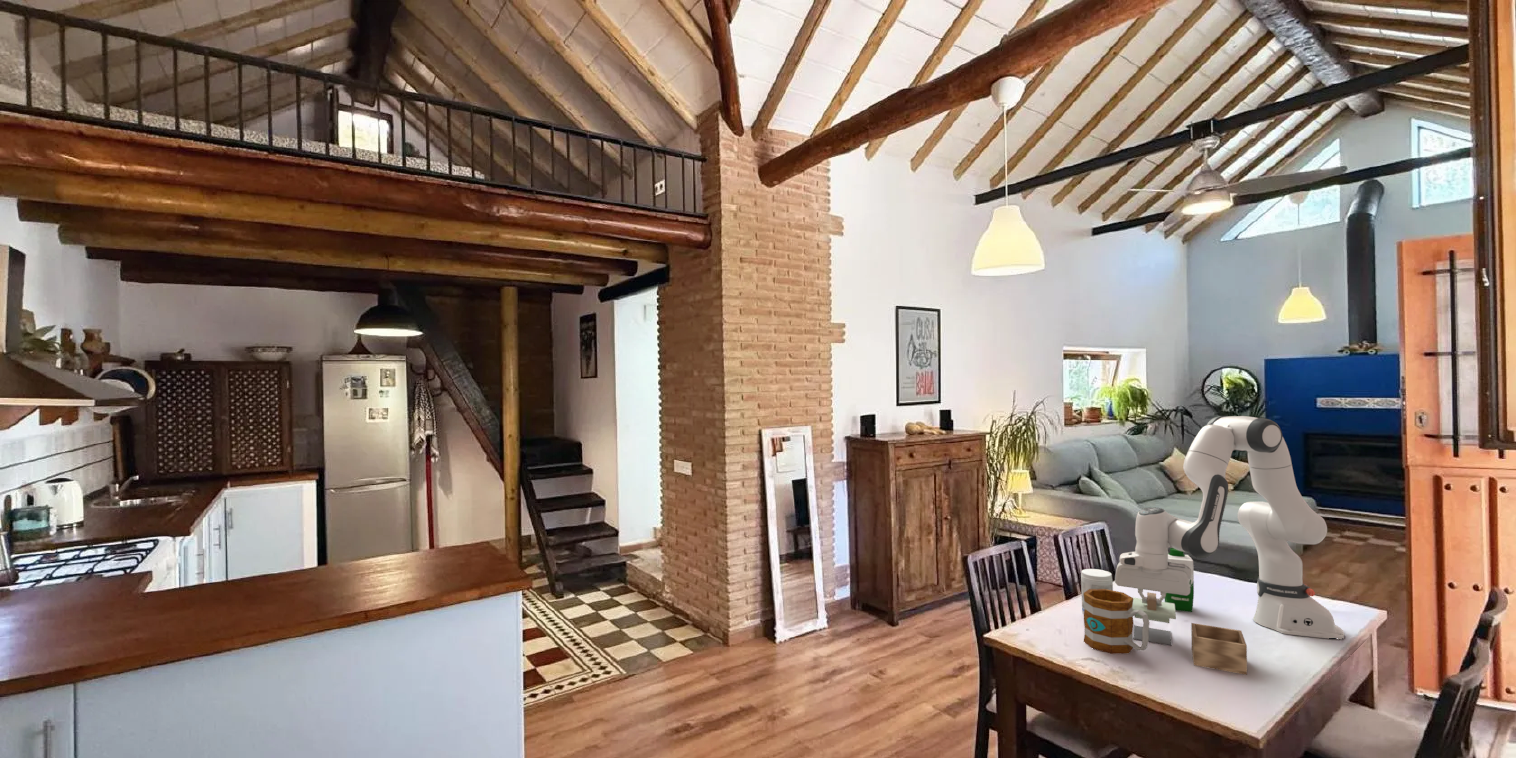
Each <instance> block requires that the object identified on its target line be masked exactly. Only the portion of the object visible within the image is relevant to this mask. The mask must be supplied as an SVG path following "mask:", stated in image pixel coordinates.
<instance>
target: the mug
mask: <svg viewBox="0 0 1516 758" xmlns="http://www.w3.org/2000/svg"><path fill="white" fill-rule="evenodd" d="M1083 594H1084V604H1085V609H1084V614H1083V625H1084V636H1083V643H1084V642H1085V644H1086V645H1087V646H1088V647H1089V648H1091V649H1092V648H1093V649H1092V650H1095V649H1096V650H1095V651H1100V652H1103V653H1107V654H1111V655H1115V654H1116V655H1118V654H1121V655H1123V654H1124V655H1125V654H1128V655H1129V654H1130V653H1132V651H1133V649H1134V650H1136V651H1145V650H1146V649H1147V648H1148V646H1149V642H1148V638H1149V628H1150V620H1149V619H1148V616H1147V614H1146V613H1145V612H1143V611H1142V610H1134V611H1132V605H1133V598H1134V597H1133V598H1132V596H1130V595H1128V594H1127V593H1125V592H1123V591H1117V590H1114V589H1113V590H1108V589H1088V590H1087V591H1086V592H1084V593H1083ZM1136 614H1140V615H1141V616H1142V618H1143V619H1142V623H1143V624H1142V627H1143V630H1142V641H1141V644H1140V645H1138V644H1137V643H1136V642H1134V641H1133V640H1134V639H1133V638H1134V636H1133V633H1134V617H1135V615H1136Z"/></svg>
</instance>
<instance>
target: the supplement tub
mask: <svg viewBox="0 0 1516 758" xmlns="http://www.w3.org/2000/svg"><path fill="white" fill-rule="evenodd" d="M1113 581H1114V580H1113V574H1112V573H1111V572H1110V571H1107V570H1103V569H1096V568H1085V569H1082V570H1081V574H1080V585H1081V588H1080V589H1081V612H1082V614H1083V615H1084V609H1085V604H1084V594H1083V593H1084V592H1086V591H1087V590H1088V589H1108V590H1113V591H1114V587H1113V586H1114V584H1113Z"/></svg>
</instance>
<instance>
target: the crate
mask: <svg viewBox="0 0 1516 758" xmlns="http://www.w3.org/2000/svg"><path fill="white" fill-rule="evenodd" d="M1190 623H1191V625H1190V626H1191V627H1190V628H1191V629H1190V630H1191V632H1190V633H1191V656H1192V660H1193V661H1192V662H1193V665H1194V666H1197V667H1200V668H1201V667H1203V668H1207V669H1213V670H1216V671H1217V670H1218V671H1223V672H1230V673H1235V674H1240V675H1245V676H1247V675H1248V653H1247V652H1248V646H1247V643H1246V640H1245V637H1244V634H1243V631H1242V630H1239V629H1232V628H1227V627H1226V628H1225V627H1220V626H1214V625H1207V624H1201V623H1194V622H1190Z"/></svg>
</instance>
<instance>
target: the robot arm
mask: <svg viewBox="0 0 1516 758" xmlns="http://www.w3.org/2000/svg"><path fill="white" fill-rule="evenodd" d="M1233 451H1239V452H1240V451H1246V452H1247V461H1248V467H1249V469H1248V470H1249V474H1250V480H1251V485H1252V488H1253V490H1254V491H1255V492H1256V493H1257V494H1259V495H1260V496H1261V497H1263V498H1264V500H1265V501H1246V502H1243V504H1241V505H1240V507H1239V509H1238V511H1237V521H1238V523H1239V524H1240V526H1241V527H1243V529H1244V531H1246V532H1247V534H1249V536H1250V538H1251V539H1252V542H1253V544H1254V546H1255V549H1256V551H1257V553H1256V554H1257V556H1258V575H1259V576H1258V577H1257V582H1256V592H1257V596H1258V598H1257V605H1256V609H1255V612H1254V616H1253V621H1254V622H1255V623H1256V624H1259V625H1260V626H1263V627H1266V628H1268V629H1272V630H1274V631H1277V632H1278V633H1281V634H1284V635H1292V636H1293V635H1294V636H1300V637H1301V636H1302V637H1309V638H1310V637H1311V638H1320V639H1329V638H1336V639H1335V640H1339V639H1341V640H1343V639H1345V637H1344V636H1345V631H1344V630H1343V629H1342V628H1341V627H1339V626H1338V625H1336V624H1335V619H1334V616H1333V615H1332V613H1331V612H1330V611H1329V609H1328V608H1326V607H1325V606H1324V605H1322V604H1321V603H1320V602H1319V601H1317V600H1316V599H1314V598H1312V597H1314V596H1315V595H1316V592H1315V591H1314V589H1312V588H1311V587H1310V586H1308V585H1307V584H1306V583H1305V584H1304V583H1303V560H1302V559H1301V557H1300V556H1299V555H1298V553H1296V552H1295V551H1294V550H1293V549H1292V548H1291V547H1290V545H1289V543H1288V542H1291V543H1294V544H1299V545H1318V544H1320V543H1321V542H1322V541H1323V540H1324V539H1325V538H1326V536H1327V533H1328V526H1327V523H1326V521H1325V519H1324V518H1323V517H1322V516H1321V515H1320V514H1318V513H1317V512H1316V511H1314V510H1313V509H1312V508H1311V507H1310V506H1309V505H1308V503H1307V501H1305V499H1304V497H1303V496H1302V494H1301V492H1300V490H1299V489H1298V486H1297V483H1296V477H1295V474H1294V473H1295V472H1294V469H1293V464H1292V457H1291V455H1290V451H1289V448H1288V445H1287V442H1286V441H1285V438H1284V436H1283V432H1282V429H1281V427H1280V425H1278V423H1277V422H1275V421H1273V420H1271V419H1269V418H1264V417H1256V416H1255V417H1254V416H1248V415H1247V416H1246V415H1239V416H1237V415H1234V416H1231V415H1230V416H1228V415H1220V416H1215V417H1212V418H1211V419H1210V420H1209V421H1208V422H1207V424H1206V425H1204V426H1203V427H1201V428H1200V430H1199V431H1198V433H1197V434H1196V436H1195V437H1194V439H1193V440H1192V442H1191V444H1190V447H1188V450H1187V453H1186V455H1185V458H1184V460H1183V466H1182V468H1183V471H1184V474H1185V475H1186V477H1187V479H1188V480H1189V481H1191V483H1193V484H1195V485H1196V486H1197V487H1198V488H1199V489H1200V490H1201V492H1202V501H1201V504H1200V508H1199V513H1198V515H1197V519H1196V520H1195V521H1194V522H1193V521H1190V520H1187V519H1183V518H1180V517H1176V516H1174V515H1172V514H1171V513H1169V512H1167V511H1166V510H1165V509H1164V508H1161V507H1151V506H1150V507H1145V508H1142V509H1140V510H1139V511H1138V512H1137V514H1136V519H1135V526H1134V527H1135V530H1134V535H1135V539H1136V543H1135V549H1134V550H1135V551H1129V552H1123V553H1121V554H1120V555H1119V562H1118V564H1117V565H1116V570H1115V575H1114V583H1115V584H1116V585H1117V586H1118V587H1125V588H1131V589H1137V593H1138V595H1139V596H1140V599H1142V603H1145V604H1147V596H1145V595H1144V590H1145V591H1153V592H1159V593H1160V597H1159V598H1157V597H1156V605H1158V606H1162V602H1163V601H1164V600H1165V599H1164V598H1165V596H1166V593H1172V594H1179V595H1186V596H1187V595H1189V594H1190V584H1189V579H1190V578H1191V569H1190V568H1189V567H1188V566H1185V564H1177V563H1171V562H1168V553H1169V551H1168V550H1169V549H1170V548H1174V549H1177V550H1180V551H1183V553H1185V554H1186V555H1189V556H1191V557H1194V558H1196V559H1199V560H1200V559H1202V560H1203V559H1207V558H1209V557H1210V556H1212V555H1214V554H1215V553H1216V552H1217V551H1218V548H1219V547H1220V546H1219V544H1220V530H1221V526H1222V521H1223V516H1224V513H1225V509H1226V504H1227V499H1228V495H1229V494H1228V493H1229V483H1228V480H1227V478H1226V474H1227V473H1226V472H1227V467H1228V465H1229V462H1230V460H1231V458H1232V455H1233ZM1168 565H1169V567H1168ZM1185 567H1187V568H1185ZM1337 638H1338V639H1337ZM1342 638H1343V639H1342Z"/></svg>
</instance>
